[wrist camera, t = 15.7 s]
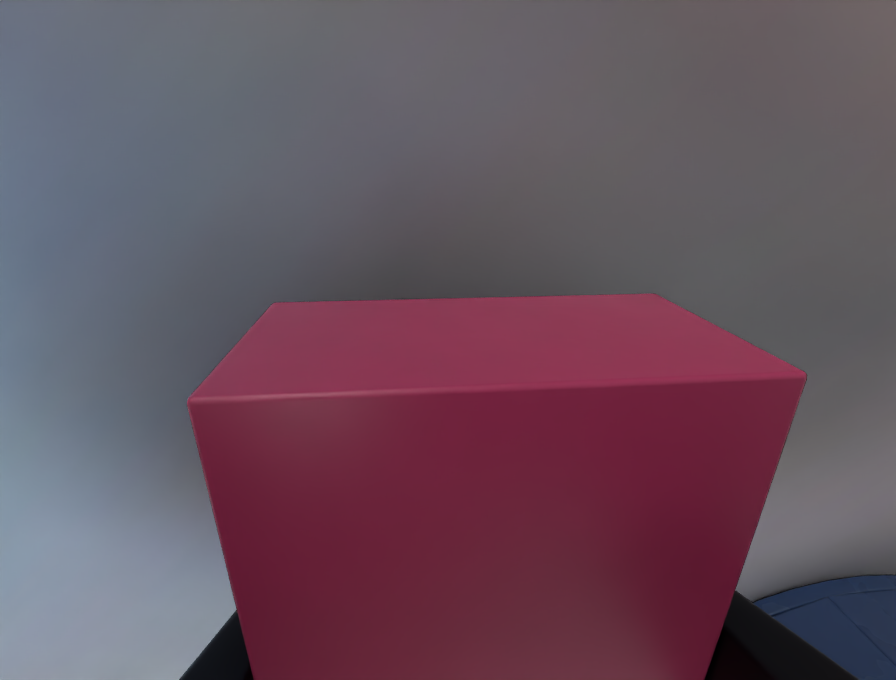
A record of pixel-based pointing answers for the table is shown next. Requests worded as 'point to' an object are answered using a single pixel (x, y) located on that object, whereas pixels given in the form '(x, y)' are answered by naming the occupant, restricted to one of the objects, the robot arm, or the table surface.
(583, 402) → the wallet
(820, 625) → the tin
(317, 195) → the table surface
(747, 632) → the robot arm
